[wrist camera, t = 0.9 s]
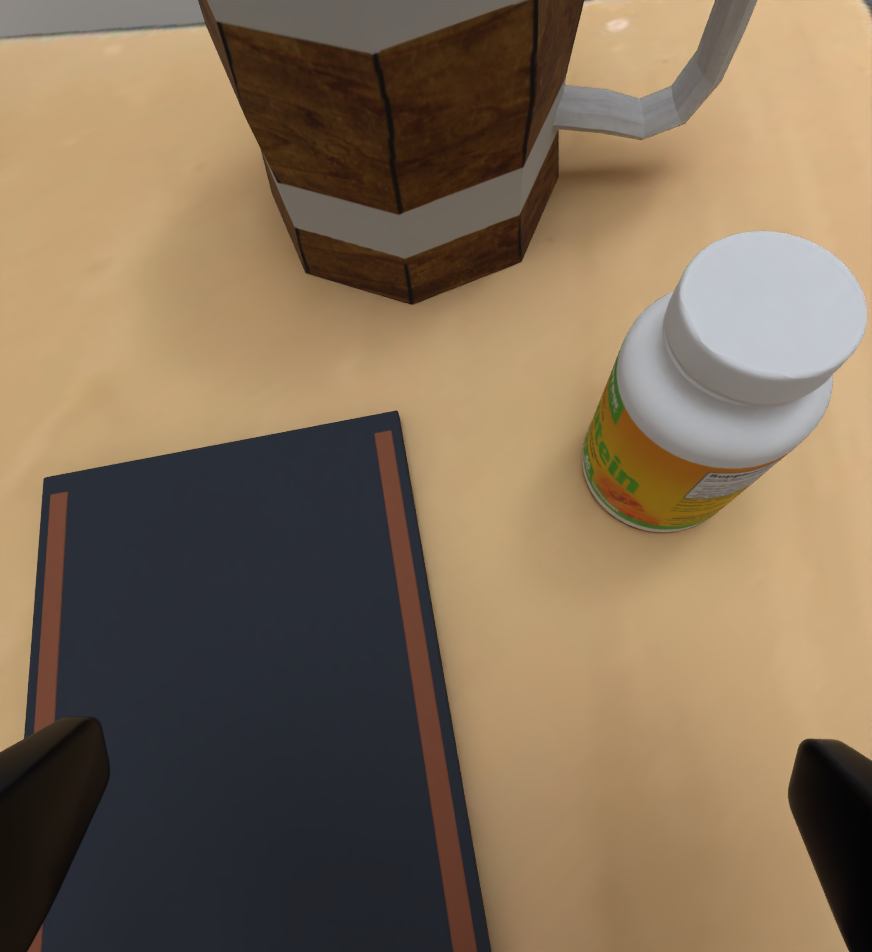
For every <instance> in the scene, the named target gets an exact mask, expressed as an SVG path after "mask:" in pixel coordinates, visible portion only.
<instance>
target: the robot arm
mask: <svg viewBox="0 0 872 952" xmlns="http://www.w3.org/2000/svg"><path fill="white" fill-rule="evenodd" d="M109 777H110V762H109V757H108V752H107V748H106V743H105V738H104V734H103V729H102V725H101V723H100V721H99V720H98V719H97V718H94V717H83V716H67V717H63V718H61V719H59V720H57V721H55V722H53V723H51V724H50V725H48V726H46V727H44V728H43V729H41V730H39V731H37V732H35V733H34V734H32V735H30V736H28V737H27V738H25V739H23V740H21V741H20V742H18V743H16V744H14V745H12V746H11V747H9V748H7V749H5V750H4V751H2V752H0V952H27V951H28V950H29V948H30V946H31V944H32V942H33V941H34V939H35V937H36V935H37V933H38V932H39V930H40V928H41V926H42V924H43V922H44V921H45V919H46V917H47V915H48V913H49V911H50V909H51V907H52V905H53V903H54V901H55V899H56V897H57V895H58V893H59V891H60V888H61V886H62V884H63V882H64V880H65V878H66V875H67V873H68V871H69V869H70V867H71V864H72V862H73V860H74V858H75V856H76V853H77V851H78V849H79V847H80V845H81V842H82V840H83V838H84V836H85V834H86V831H87V829H88V827H89V825H90V823H91V820H92V818H93V816H94V814H95V812H96V810H97V807H98V805H99V803H100V801H101V799H102V796H103V794H104V792H105V790H106V787H107V785H108V781H109ZM788 799H789V805H790V808H791V811H792V814H793V816H794V819H795V821H796V824H797V826H798V829H799V831H800V834H801V836H802V839H803V841H804V844H805V846H806V849H807V851H808V854H809V856H810V859H811V861H812V864H813V866H814V868H815V871H816V873H817V876H818V878H819V881H820V883H821V886H822V888H823V891H824V893H825V896H826V898H827V901H828V903H829V906H830V908H831V911H832V913H833V916H834V918H835V920H836V923H837V925H838V928H839V930H840V932H841V934H842V937H843V939H844V941H845V944H846V946H847V948H848V950H849V952H872V760H870V759H868V758H867V757H865V756H864V755H862V754H860V753H859V752H857V751H856V750H854V749H853V748H851V747H849V746H848V745H846V744H844V743H843V742H841V741H838V740H833V739H806V740H803V741H802V742H801V743H800V745H799V747H798V751H797V755H796V759H795V763H794V767H793V771H792V775H791V779H790V783H789V788H788Z"/></svg>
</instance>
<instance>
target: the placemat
mask: <svg viewBox="0 0 872 952" xmlns="http://www.w3.org/2000/svg"><path fill="white" fill-rule="evenodd" d="M67 716H83V717H94V718H97V719H98V720H99V721H100V723H101V725H102V729H103V734H104V738H105V743H106V748H107V752H108V757H109V762H110V777H109V781H108V785H107V787H106V790H105V792H104V794H103V796H102V799H101V801H100V803H99V805H98V807H97V810H96V812H95V814H94V816H93V818H92V820H91V823H90V825H89V827H88V829H87V831H86V834H85V836H84V838H83V840H82V842H81V845H80V847H79V849H78V851H77V853H76V856H75V858H74V860H73V862H72V864H71V867H70V869H69V871H68V873H67V875H66V878H65V880H64V882H63V884H62V886H61V888H60V891H59V893H58V895H57V897H56V899H55V901H54V903H53V905H52V907H51V909H50V911H49V913H48V915H47V917H46V919H45V921H44V922H43V924H42V926H41V928H40V930H39V932H38V933H37V935H36V937H35V939H34V941H33V942H32V944H31V946H30V948H29V950H28V951H27V952H491V946H490V941H489V935H488V929H487V923H486V917H485V912H484V906H483V900H482V894H481V888H480V882H479V877H478V871H477V865H476V859H475V853H474V848H473V842H472V836H471V830H470V824H469V818H468V813H467V807H466V801H465V795H464V789H463V784H462V778H461V772H460V766H459V760H458V755H457V749H456V743H455V737H454V731H453V725H452V720H451V714H450V708H449V702H448V696H447V691H446V685H445V679H444V673H443V667H442V661H441V656H440V650H439V644H438V638H437V632H436V627H435V621H434V615H433V609H432V603H431V598H430V592H429V586H428V580H427V574H426V568H425V563H424V557H423V551H422V545H421V539H420V534H419V528H418V522H417V516H416V510H415V504H414V499H413V493H412V487H411V481H410V475H409V470H408V464H407V458H406V452H405V446H404V440H403V435H402V429H401V423H400V417H399V414H398V411H392V412H387V413H382V414H376V415H371V416H366V417H361V418H355V419H350V420H345V421H340V422H334V423H329V424H324V425H319V426H313V427H308V428H303V429H298V430H292V431H287V432H282V433H277V434H271V435H266V436H261V437H256V438H250V439H245V440H240V441H235V442H229V443H224V444H219V445H214V446H208V447H203V448H198V449H193V450H187V451H182V452H177V453H172V454H166V455H161V456H156V457H151V458H145V459H140V460H135V461H130V462H124V463H119V464H114V465H109V466H103V467H98V468H93V469H88V470H82V471H77V472H72V473H67V474H61V475H56V476H51V477H46V478H44V482H43V495H42V509H41V522H40V535H39V549H38V562H37V575H36V589H35V602H34V615H33V628H32V642H31V655H30V668H29V682H28V695H27V708H26V722H25V735H24V739H25V738H27V737H28V736H30V735H32V734H34V733H35V732H37V731H39V730H41V729H43V728H44V727H46V726H48V725H50V724H51V723H53V722H55V721H57V720H59V719H61V718H63V717H67Z"/></svg>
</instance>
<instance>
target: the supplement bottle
mask: <svg viewBox="0 0 872 952" xmlns="http://www.w3.org/2000/svg"><path fill="white" fill-rule="evenodd" d="M866 323H867V306H866V300H865V297H864V294H863V291H862V289H861V287H860V285H859V283H858V281H857V279H856V278H855V277H854V275H853V274H852V273H851V271H850V270H849V268H848V267H847V266H846V265H845V264H844V263H842V262H841V261H840V260H839V259H838V258H837V257H836V256H835V255H833V254H832V253H830V252H829V251H827V250H826V249H825V248H823V247H821V246H819V245H817V244H815V243H813V242H811V241H809V240H806V239H803V238H801V237H797V236H794V235H790V234H786V233H781V232H771V231H752V232H744V233H738V234H733V235H730V236H727V237H724V238H722V239H720V240H717V241H715V242H713V243H711V244H710V245H709V246H707V247H706V248H704V249H703V250H702V251H700V252H699V253H698V254H697V255H696V256H695V257H694V258H693V259H692V260H691V262H690V263H689V265H688V266H687V267H686V269H685V271H684V273H683V275H682V277H681V279H680V281H679V282H678V284H677V286H676V288H675V290H674V291H672V292H670V293H668V294H666V295H665V296H663V297H661V298H660V299H658V300H656V301H655V302H654V303H653V304H651V305H650V306H649V307H648V308H646V309H645V310H644V311H643V312H642V313H641V314H640V315H639V316H638V318H637V319H636V320H635V322H634V323H633V325H632V326H631V328H630V329H629V331H628V333H627V335H626V337H625V339H624V341H623V343H622V346H621V349H620V351H619V354H618V356H617V359H616V362H615V364H614V367H613V370H612V372H611V375H610V377H609V379H608V382H607V384H606V387H605V389H604V392H603V394H602V397H601V399H600V402H599V405H598V407H597V410H596V412H595V415H594V417H593V420H592V422H591V424H590V426H589V429H588V432H587V435H586V438H585V441H584V445H583V452H582V465H583V472H584V475H585V479H586V481H587V484H588V486H589V488H590V490H591V492H592V494H593V495H594V497H595V498H596V499H597V501H598V502H599V503H600V504H601V505H602V506H603V507H604V508H605V509H606V510H607V511H608V512H609V513H610V514H612V515H613V516H614V517H616V518H617V519H619V520H620V521H622V522H624V523H626V524H628V525H630V526H633V527H635V528H639V529H642V530H647V531H653V532H673V531H680V530H685V529H688V528H691V527H694V526H696V525H698V524H700V523H702V522H704V521H705V520H707V519H708V518H710V517H711V516H713V515H714V514H716V513H717V512H718V511H719V510H720V509H722V508H723V507H724V506H726V505H727V504H728V503H729V502H730V501H732V500H733V499H734V498H735V497H736V496H738V495H739V494H740V493H741V492H742V491H744V490H745V489H746V488H747V487H749V486H750V485H751V484H752V483H753V482H754V481H756V480H757V479H758V478H759V477H760V476H762V475H763V474H764V473H765V472H766V471H768V470H769V469H770V468H771V467H772V466H774V465H775V464H776V463H777V462H779V461H780V460H781V459H782V458H783V457H785V456H786V455H787V454H788V453H790V452H791V451H792V450H793V449H794V448H796V447H797V446H798V445H799V444H800V443H801V442H802V441H803V440H804V439H805V438H806V437H807V436H808V435H809V434H810V433H811V432H812V431H813V430H814V429H815V428H816V426H817V425H818V423H819V422H820V420H821V419H822V417H823V415H824V413H825V411H826V409H827V407H828V404H829V401H830V397H831V393H832V385H833V374H834V373H835V371H836V370H837V369H838V368H839V367H840V366H841V365H842V364H843V363H844V362H845V361H846V360H847V359H848V358H849V357H850V356H851V355H852V354H853V353H854V351H855V350H856V348H857V347H858V345H859V343H860V342H861V340H862V337H863V335H864V332H865V328H866Z"/></svg>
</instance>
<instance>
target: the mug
mask: <svg viewBox="0 0 872 952" xmlns="http://www.w3.org/2000/svg"><path fill="white" fill-rule="evenodd" d="M198 1H199V4H200V8H201V11H202V14H203V17H204V20H205V24H206V27H207V29H208V31H209V34H210V36H211V38H212V41H213V43H214V45H215V48H216V50H217V52H218V55H219V57H220V59H221V62H222V64H223V66H224V69H225V71H226V73H227V76H228V78H229V80H230V83H231V85H232V87H233V90H234V92H235V94H236V97H237V99H238V101H239V104H240V106H241V108H242V111H243V113H244V115H245V117H246V120H247V122H248V124H249V126H250V128H251V130H252V132H253V134H254V136H255V138H256V140H257V142H258V144H259V146H260V148H261V152H262V156H263V160H264V164H265V167H266V171H267V175H268V179H269V183H270V187H271V191H272V194H273V197H274V199H275V202H276V204H277V206H278V209H279V211H280V213H281V216H282V218H283V221H284V223H285V225H286V228H287V230H288V232H289V235H290V237H291V239H292V242H293V244H294V247H295V249H296V251H297V254H298V256H299V258H300V261H301V263H302V265H303V268H304V270H305V273H309V274H312V275H316V276H319V277H322V278H326V279H329V280H332V281H336V282H339V283H342V284H346V285H349V286H352V287H356V288H359V289H362V290H366V291H369V292H372V293H376V294H379V295H383V296H386V297H389V298H393V299H396V300H399V301H403V302H406V303H409V304H413V303H416V302H419V301H421V300H424V299H426V298H429V297H431V296H434V295H437V294H439V293H442V292H444V291H447V290H449V289H452V288H455V287H457V286H460V285H462V284H465V283H467V282H470V281H472V280H475V279H478V278H480V277H483V276H485V275H488V274H490V273H493V272H496V271H498V270H501V269H503V268H506V267H508V266H511V265H513V264H516V263H519V262H521V261H522V259H523V256H524V254H525V252H526V250H527V247H528V245H529V243H530V240H531V238H532V236H533V234H534V231H535V229H536V227H537V224H538V222H539V220H540V218H541V215H542V213H543V211H544V208H545V206H546V204H547V202H548V199H549V197H550V195H551V192H552V190H553V188H554V186H555V183H556V181H557V179H558V129H563V130H573V131H584V132H594V133H603V134H609V135H615V136H621V137H626V138H632V139H638V140H644V139H646V138H649V137H651V136H654V135H657V134H659V133H662V132H665V131H667V130H670V129H672V128H675V127H678V126H680V125H683V124H685V123H686V122H687V121H688V119H689V118H690V117H691V116H692V115H693V114H694V113H695V111H696V110H697V109H698V108H699V107H700V106H701V104H702V103H703V102H704V101H705V100H706V99H707V98H708V96H709V95H710V94H711V93H712V92H713V91H714V89H715V88H716V87H717V86H718V85H719V84H720V82H721V81H722V79H723V77H724V74H725V72H726V70H727V68H728V66H729V64H730V62H731V59H732V57H733V55H734V53H735V51H736V49H737V47H738V44H739V42H740V40H741V38H742V36H743V34H744V32H745V29H746V27H747V25H748V22H749V20H750V17H751V15H752V12H753V10H754V7H755V5H756V2H757V0H715V2H714V5H713V8H712V11H711V13H710V16H709V19H708V22H707V24H706V27H705V30H704V33H703V35H702V38H701V41H700V44H699V46H698V49H697V51H696V52H695V54H694V55H693V57H692V58H691V59H690V61H689V62H688V63H687V65H686V66H685V68H684V69H683V70H682V72H681V73H680V75H679V76H678V77H677V79H676V80H675V82H674V83H673V84H672V86H670V87H667V88H665V89H663V90H660V91H658V92H655V93H653V94H650V95H648V96H645V97H643V98H640V99H639V98H636V97H632V96H629V95H625V94H622V93H618V92H615V91H611V90H608V89H599V88H589V87H579V86H569V85H565V78H566V73H567V69H568V65H569V61H570V57H571V53H572V48H573V44H574V40H575V36H576V32H577V28H578V24H579V20H580V15H581V11H582V7H583V3H584V0H198Z"/></svg>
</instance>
